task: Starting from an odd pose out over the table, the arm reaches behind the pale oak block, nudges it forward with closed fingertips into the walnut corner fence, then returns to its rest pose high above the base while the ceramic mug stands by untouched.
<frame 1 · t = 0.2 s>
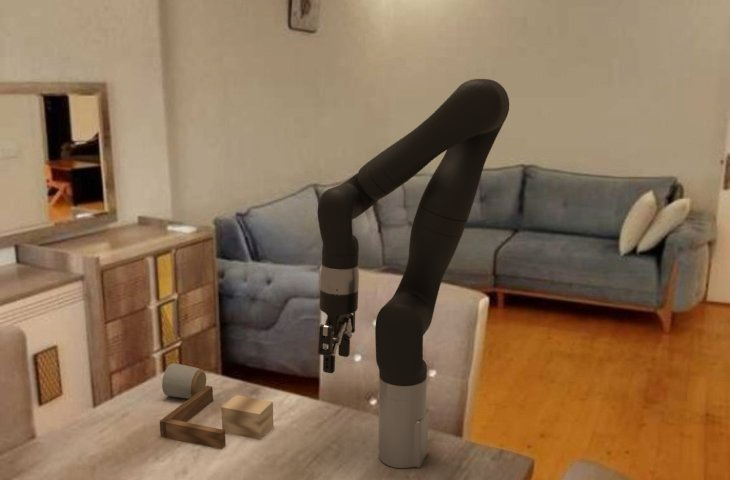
hand: (336, 363, 139), 18 cm above the table, tool pointing down, fingers open, 8 cm apart
ceramic mug: (187, 394, 165), on the table
oak block: (248, 429, 149), on the table
corner fence: (215, 422, 151), on the table
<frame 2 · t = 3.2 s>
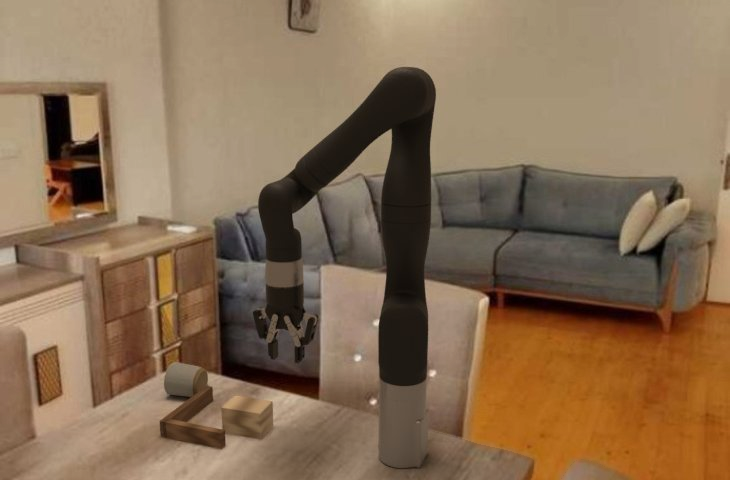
hand: (286, 359, 142), 17 cm above the table, tool pointing down, fingers open, 5 cm apart
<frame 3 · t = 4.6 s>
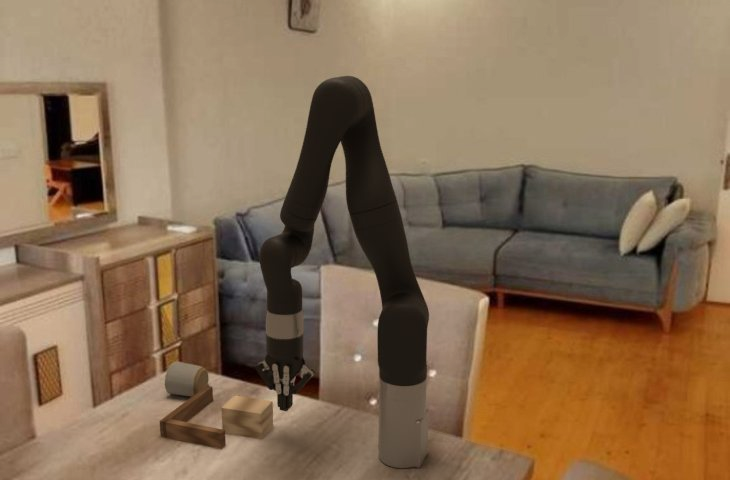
hand: (284, 409, 144), 6 cm above the table, tool pointing down, fingers closed
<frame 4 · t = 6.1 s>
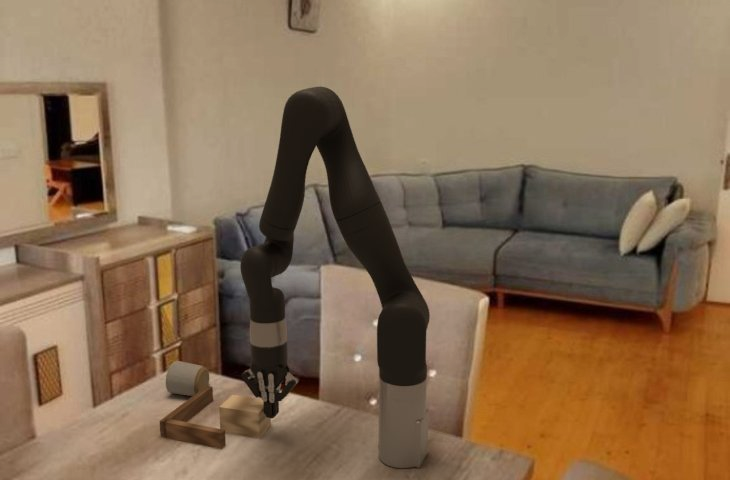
hand: (271, 416, 146), 4 cm above the table, tool pointing down, fingers closed
oak block: (246, 429, 149), on the table, touching gripper
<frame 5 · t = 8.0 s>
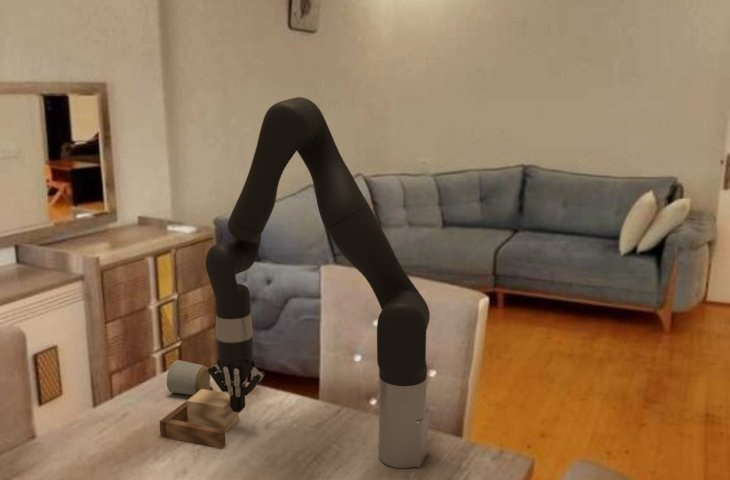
hand: (238, 410, 149), 4 cm above the table, tool pointing down, fingers closed
oak block: (213, 422, 152), on the table
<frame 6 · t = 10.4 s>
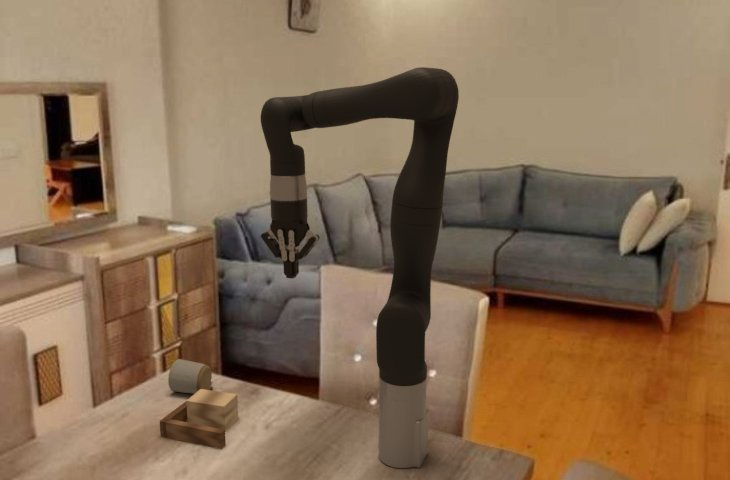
hand: (291, 277, 146), 32 cm above the table, tool pointing down, fingers closed
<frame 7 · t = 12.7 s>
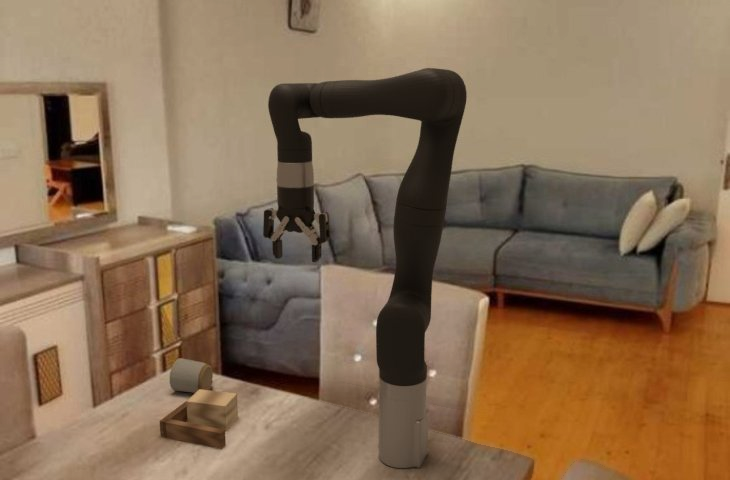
hand: (296, 259, 146), 36 cm above the table, tool pointing down, fingers open, 8 cm apart
at the end: oak block inside the target area (0.9 cm from its centre), on the table; oak block tilted 0°; oak block moved 8.7 cm from its start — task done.
